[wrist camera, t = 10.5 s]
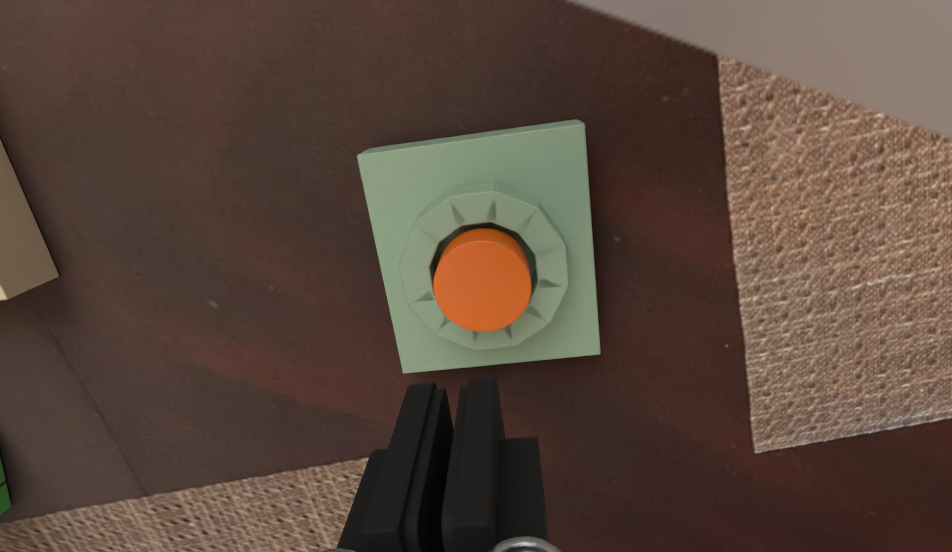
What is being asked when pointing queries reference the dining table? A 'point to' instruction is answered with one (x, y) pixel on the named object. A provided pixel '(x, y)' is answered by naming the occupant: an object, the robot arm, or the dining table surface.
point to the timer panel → (19, 239)
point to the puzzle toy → (3, 491)
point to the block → (496, 207)
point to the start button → (483, 280)
